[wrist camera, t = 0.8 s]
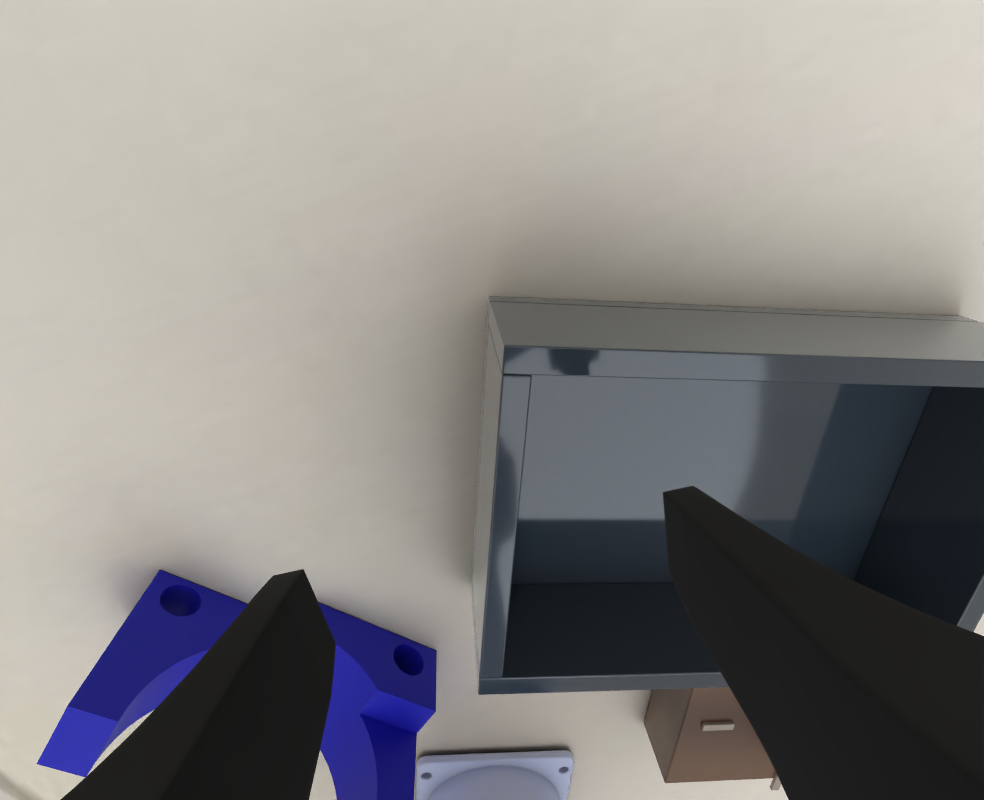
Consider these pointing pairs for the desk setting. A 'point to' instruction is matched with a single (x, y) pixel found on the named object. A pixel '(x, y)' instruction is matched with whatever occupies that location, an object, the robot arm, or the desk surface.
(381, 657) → the cable clip
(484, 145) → the desk surface
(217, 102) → the desk surface
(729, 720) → the block
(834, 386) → the grey open box
